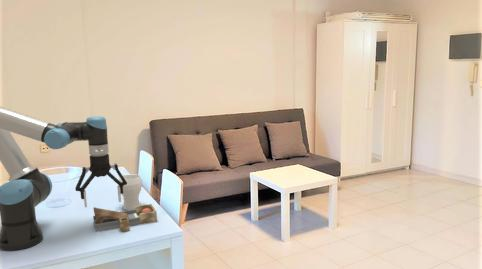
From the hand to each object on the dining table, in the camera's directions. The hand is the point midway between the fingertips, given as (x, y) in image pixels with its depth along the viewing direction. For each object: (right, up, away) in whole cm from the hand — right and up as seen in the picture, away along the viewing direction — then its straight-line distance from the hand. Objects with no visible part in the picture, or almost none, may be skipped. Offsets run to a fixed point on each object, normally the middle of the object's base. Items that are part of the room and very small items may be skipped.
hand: (103, 203), depth 168 cm
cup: (+6, -6, +23) cm, 25 cm away
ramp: (+3, -8, +3) cm, 9 cm away
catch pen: (+16, -8, +9) cm, 20 cm away
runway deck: (+5, -9, +4) cm, 11 cm away
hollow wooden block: (+10, -10, -3) cm, 15 cm away
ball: (+16, -6, +8) cm, 19 cm away
